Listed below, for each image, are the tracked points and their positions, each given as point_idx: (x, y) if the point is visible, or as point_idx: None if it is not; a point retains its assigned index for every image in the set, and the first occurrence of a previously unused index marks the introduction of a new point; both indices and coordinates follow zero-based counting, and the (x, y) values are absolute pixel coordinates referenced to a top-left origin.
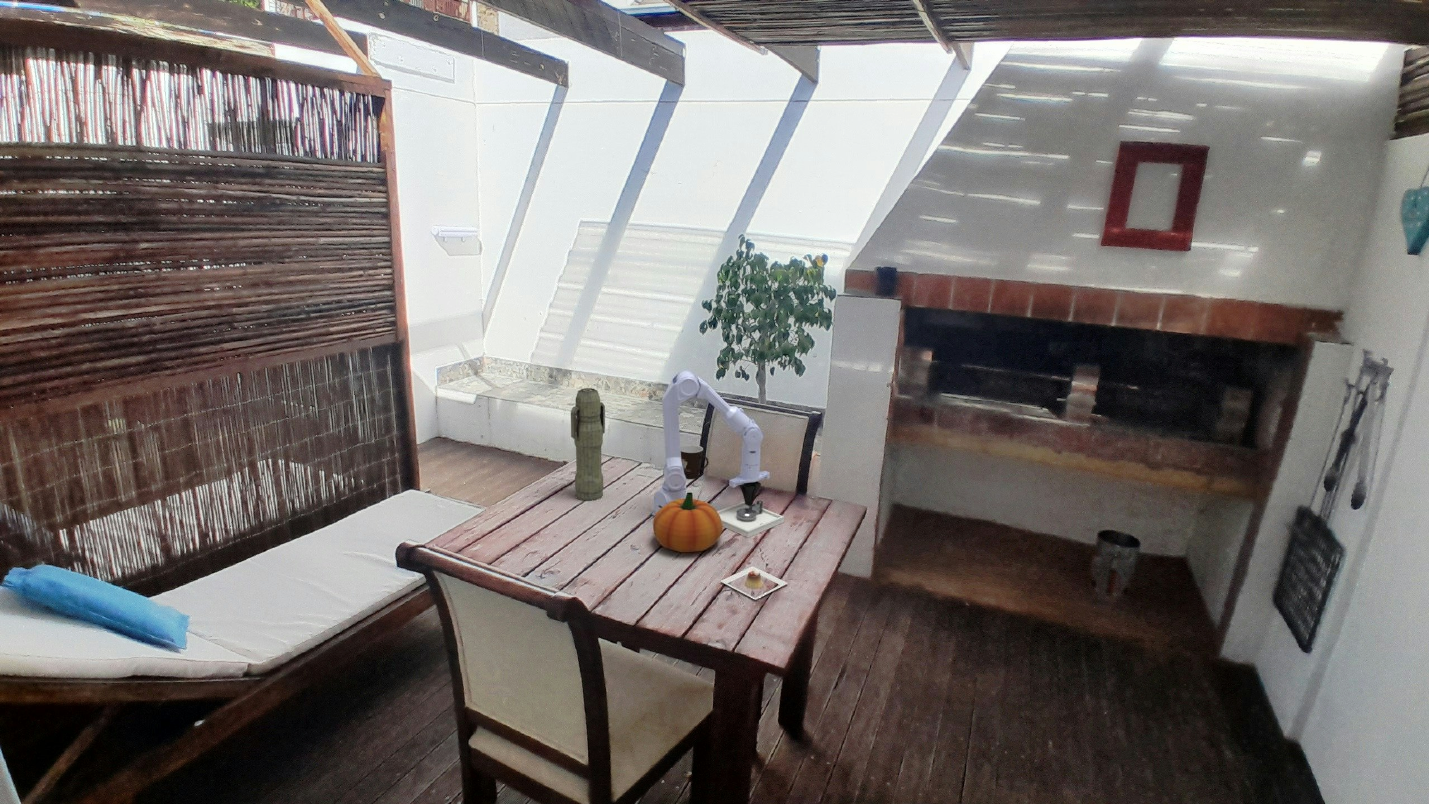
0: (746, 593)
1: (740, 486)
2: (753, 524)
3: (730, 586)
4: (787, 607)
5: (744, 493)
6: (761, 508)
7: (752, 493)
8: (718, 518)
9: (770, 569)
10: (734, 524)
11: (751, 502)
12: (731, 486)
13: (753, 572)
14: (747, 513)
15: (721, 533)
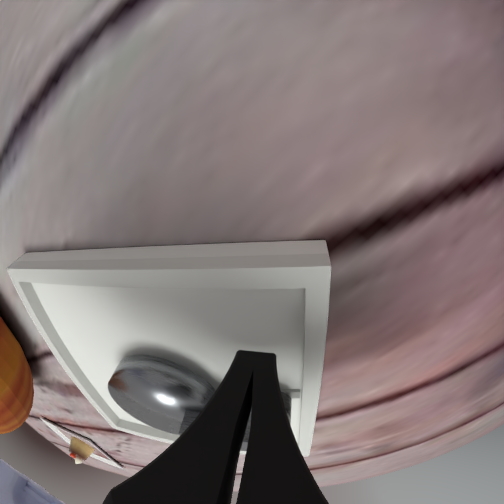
0: (69, 440)
1: (132, 488)
2: None
3: (51, 428)
4: (107, 466)
5: (207, 432)
6: None
7: (232, 484)
8: (5, 432)
9: (118, 454)
10: (85, 391)
11: (250, 408)
12: (14, 473)
13: (74, 457)
14: (156, 416)
15: (31, 406)
